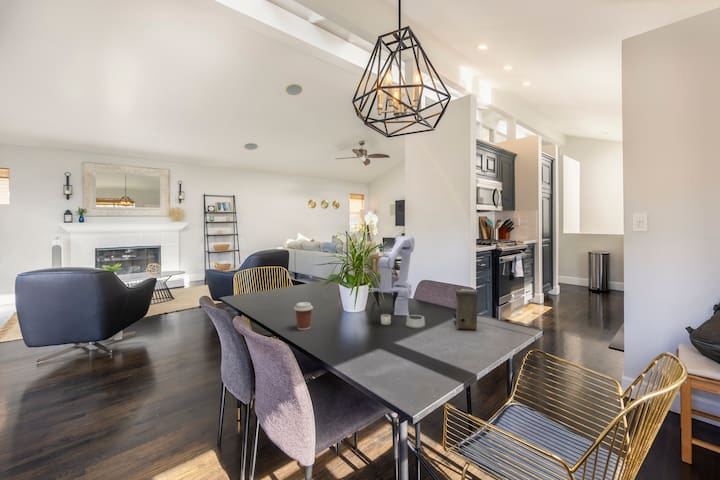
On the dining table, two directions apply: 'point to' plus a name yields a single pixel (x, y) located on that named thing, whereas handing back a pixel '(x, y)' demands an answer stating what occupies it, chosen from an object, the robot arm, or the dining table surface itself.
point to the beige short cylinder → (385, 319)
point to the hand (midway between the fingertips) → (385, 306)
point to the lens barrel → (415, 321)
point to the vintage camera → (466, 309)
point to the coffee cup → (303, 315)
